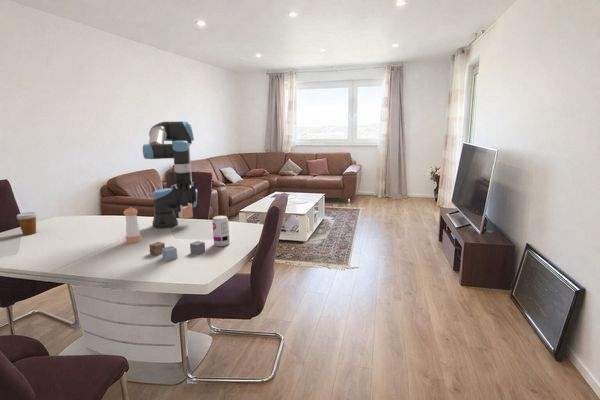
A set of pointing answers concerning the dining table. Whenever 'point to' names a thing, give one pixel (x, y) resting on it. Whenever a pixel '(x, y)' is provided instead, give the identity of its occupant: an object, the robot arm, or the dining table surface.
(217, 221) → the supplement can
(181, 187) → the robot arm
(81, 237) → the dining table surface
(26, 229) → the disposable coffee cup
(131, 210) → the pepper shaker
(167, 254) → the slate blue cube
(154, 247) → the walnut cube
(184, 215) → the terracotta cube
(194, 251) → the charcoal cube
